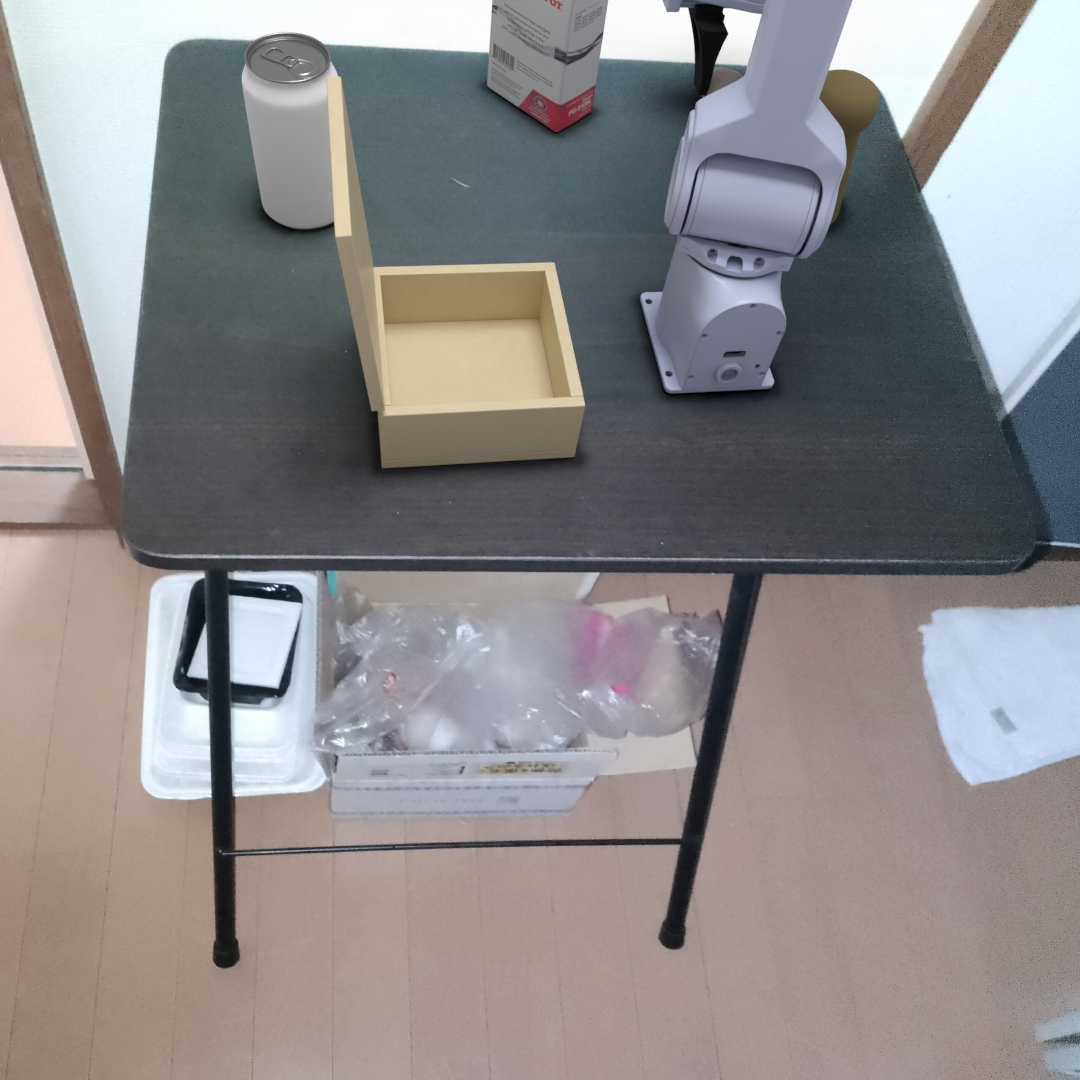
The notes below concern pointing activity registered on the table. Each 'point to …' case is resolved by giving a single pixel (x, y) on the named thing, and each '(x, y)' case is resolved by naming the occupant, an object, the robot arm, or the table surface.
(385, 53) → the table surface
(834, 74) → the cork
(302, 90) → the can
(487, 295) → the beige box
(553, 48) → the ink box
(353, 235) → the box lid
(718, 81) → the clam shell
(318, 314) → the table surface
